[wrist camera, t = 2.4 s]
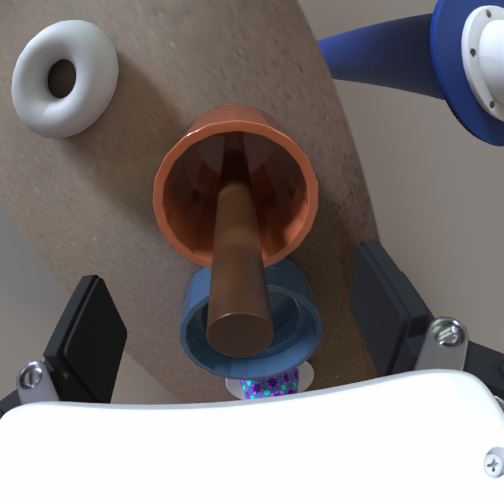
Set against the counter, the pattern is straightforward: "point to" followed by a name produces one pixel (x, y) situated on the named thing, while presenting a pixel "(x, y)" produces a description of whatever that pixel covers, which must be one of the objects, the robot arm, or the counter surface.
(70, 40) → the donut
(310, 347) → the bowl
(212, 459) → the robot arm
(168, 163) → the crock
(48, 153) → the counter surface
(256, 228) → the stick
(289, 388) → the pudding
